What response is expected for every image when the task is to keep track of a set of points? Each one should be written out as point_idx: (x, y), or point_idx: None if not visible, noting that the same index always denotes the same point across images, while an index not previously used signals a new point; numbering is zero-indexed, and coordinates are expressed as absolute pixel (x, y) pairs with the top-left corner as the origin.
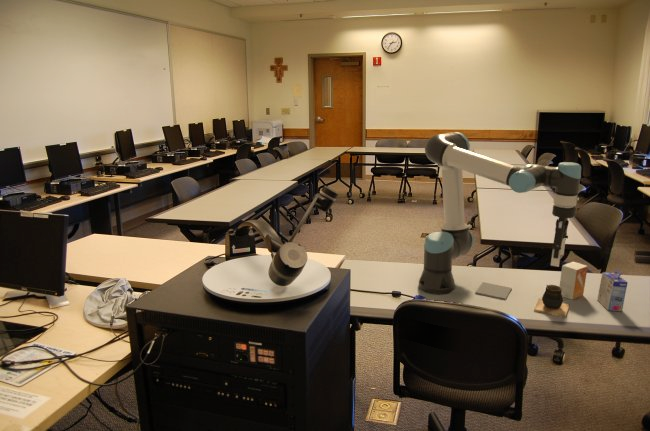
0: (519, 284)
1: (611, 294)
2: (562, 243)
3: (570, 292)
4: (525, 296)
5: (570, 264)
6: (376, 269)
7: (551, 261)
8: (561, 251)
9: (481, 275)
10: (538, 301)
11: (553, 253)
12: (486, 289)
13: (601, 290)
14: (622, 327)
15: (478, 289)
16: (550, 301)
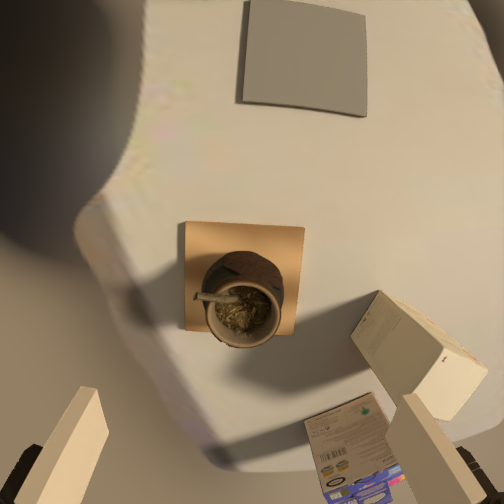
0: (419, 146)
1: (314, 459)
2: (429, 497)
3: (364, 338)
4: (316, 174)
5: (458, 373)
6: None
7: (68, 410)
8: (401, 445)
9: (427, 21)
10: (270, 230)
11: (37, 472)
12: (299, 26)
13: (371, 423)
14: (209, 443)
15: (283, 2)
16: (201, 289)
